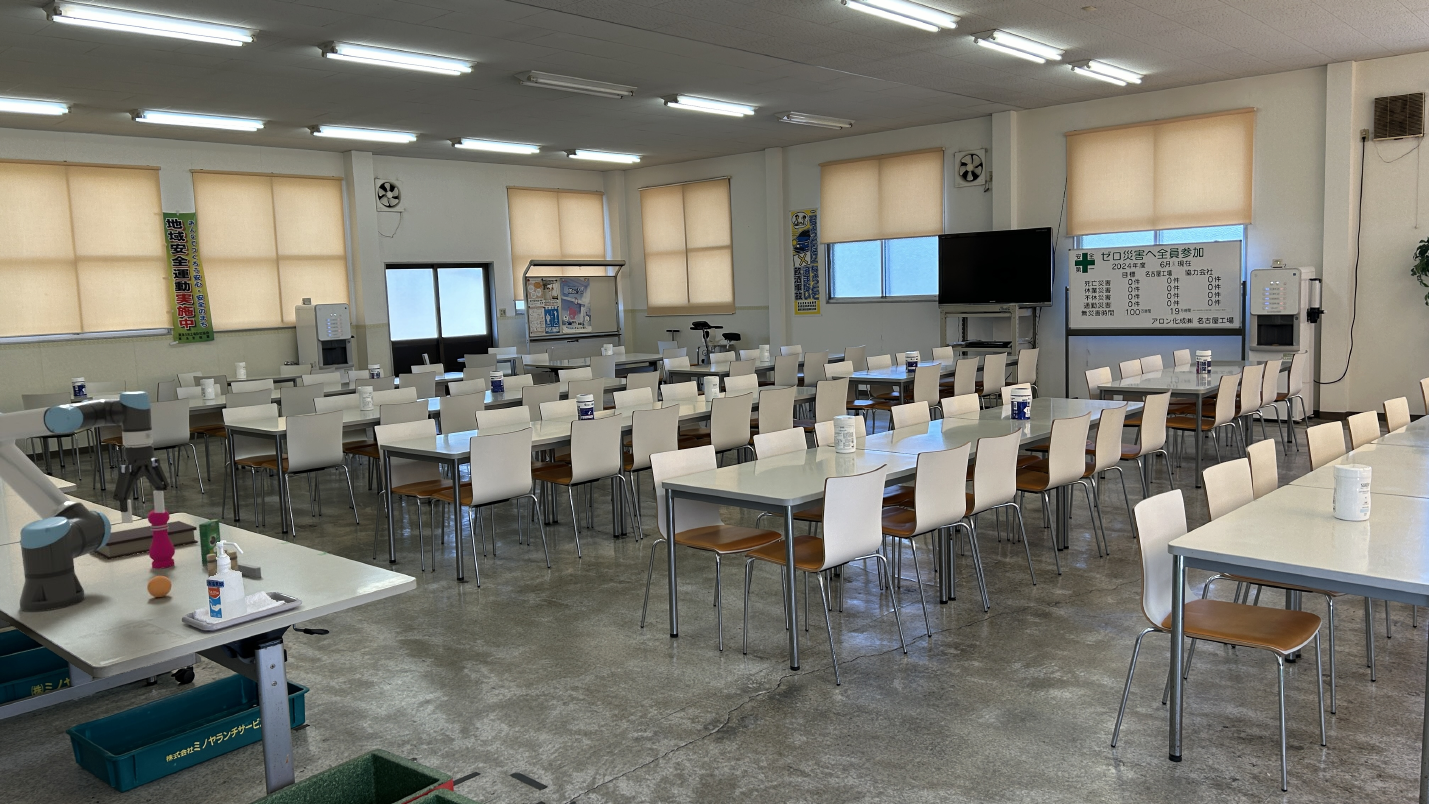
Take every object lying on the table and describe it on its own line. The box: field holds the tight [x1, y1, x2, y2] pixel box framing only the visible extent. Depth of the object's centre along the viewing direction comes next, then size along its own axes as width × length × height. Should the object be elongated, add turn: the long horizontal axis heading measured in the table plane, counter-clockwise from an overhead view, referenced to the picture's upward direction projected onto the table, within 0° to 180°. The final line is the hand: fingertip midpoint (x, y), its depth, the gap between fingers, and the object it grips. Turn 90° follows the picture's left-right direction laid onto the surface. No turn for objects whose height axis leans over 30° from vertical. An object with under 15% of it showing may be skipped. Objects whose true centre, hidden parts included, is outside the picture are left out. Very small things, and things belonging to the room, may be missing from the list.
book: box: [93, 520, 199, 560], centre depth 343 cm, size 28×20×6 cm
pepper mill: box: [147, 509, 176, 570], centre depth 314 cm, size 7×7×20 cm
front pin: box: [206, 554, 218, 578], centre depth 293 cm, size 2×2×8 cm
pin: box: [228, 550, 239, 571], centre depth 296 cm, size 2×2×8 cm
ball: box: [146, 575, 172, 598], centre depth 280 cm, size 6×6×6 cm
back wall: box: [237, 561, 262, 579], centre depth 301 cm, size 2×14×3 cm, turn 56°
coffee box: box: [198, 519, 221, 565], centre depth 319 cm, size 8×3×13 cm, turn 179°
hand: (144, 517), depth 287 cm, fingers open, 13 cm apart
